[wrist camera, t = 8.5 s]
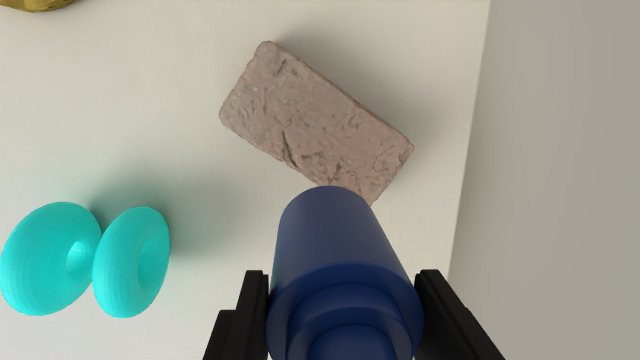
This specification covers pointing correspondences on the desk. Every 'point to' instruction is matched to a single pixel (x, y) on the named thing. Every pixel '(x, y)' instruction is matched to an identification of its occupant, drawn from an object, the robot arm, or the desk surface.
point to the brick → (313, 125)
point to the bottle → (339, 284)
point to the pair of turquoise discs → (84, 260)
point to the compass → (35, 4)
